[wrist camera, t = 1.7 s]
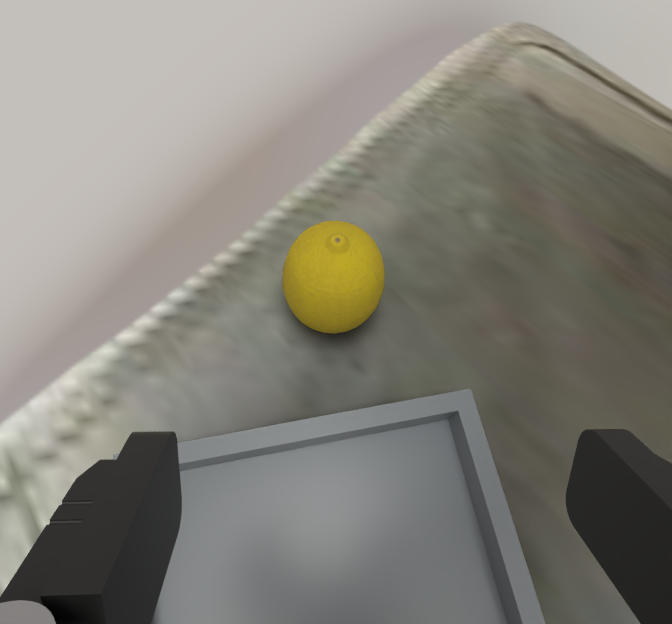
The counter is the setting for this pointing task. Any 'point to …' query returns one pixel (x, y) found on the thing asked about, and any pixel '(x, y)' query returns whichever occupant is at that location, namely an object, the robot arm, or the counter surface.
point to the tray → (348, 523)
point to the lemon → (333, 277)
